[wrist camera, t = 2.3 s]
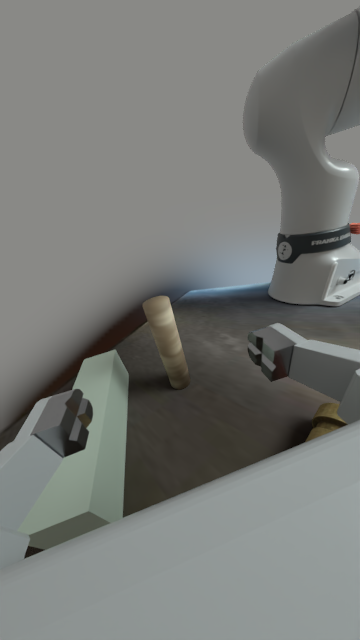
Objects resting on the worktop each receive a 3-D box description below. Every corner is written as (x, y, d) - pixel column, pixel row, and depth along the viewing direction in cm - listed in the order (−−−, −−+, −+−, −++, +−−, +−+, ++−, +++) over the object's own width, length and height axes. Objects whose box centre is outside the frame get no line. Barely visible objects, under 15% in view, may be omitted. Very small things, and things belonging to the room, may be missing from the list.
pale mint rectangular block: (128, 374, 30) (115, 349, 27) (122, 528, 14) (88, 510, 11) (101, 383, 29) (84, 359, 26) (63, 553, 14) (11, 542, 11)
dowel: (187, 370, 28) (166, 293, 21) (193, 385, 25) (171, 303, 18) (169, 376, 28) (141, 300, 21) (172, 392, 25) (142, 311, 18)
